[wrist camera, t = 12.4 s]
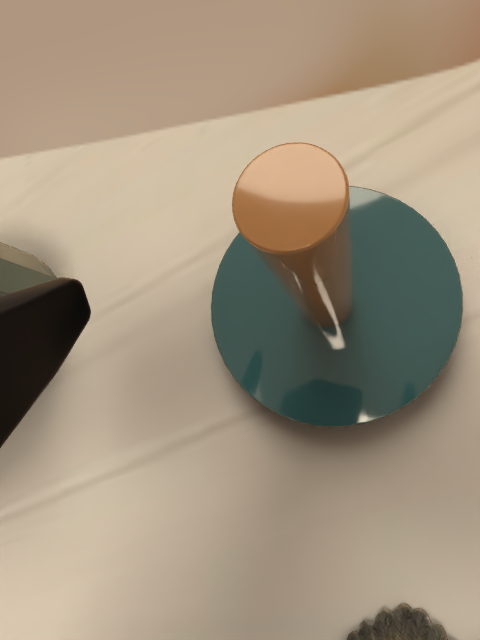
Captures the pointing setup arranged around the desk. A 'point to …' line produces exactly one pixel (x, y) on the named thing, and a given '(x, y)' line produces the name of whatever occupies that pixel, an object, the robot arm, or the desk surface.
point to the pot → (21, 270)
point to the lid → (331, 293)
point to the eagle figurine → (400, 626)
